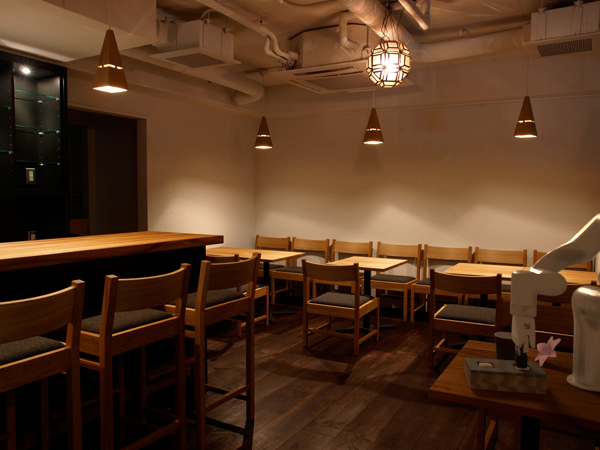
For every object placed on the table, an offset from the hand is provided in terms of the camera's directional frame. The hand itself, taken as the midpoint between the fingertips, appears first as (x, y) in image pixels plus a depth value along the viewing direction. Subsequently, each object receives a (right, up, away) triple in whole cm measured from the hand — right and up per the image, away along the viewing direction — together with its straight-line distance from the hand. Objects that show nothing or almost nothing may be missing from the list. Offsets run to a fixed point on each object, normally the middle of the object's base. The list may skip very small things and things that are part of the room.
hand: (521, 367), depth 151 cm
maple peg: (-10, -6, +2) cm, 12 cm away
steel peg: (0, -6, 0) cm, 6 cm away
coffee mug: (+6, -5, +23) cm, 24 cm away
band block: (-5, -6, +1) cm, 8 cm away
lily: (+19, -5, +21) cm, 29 cm away
